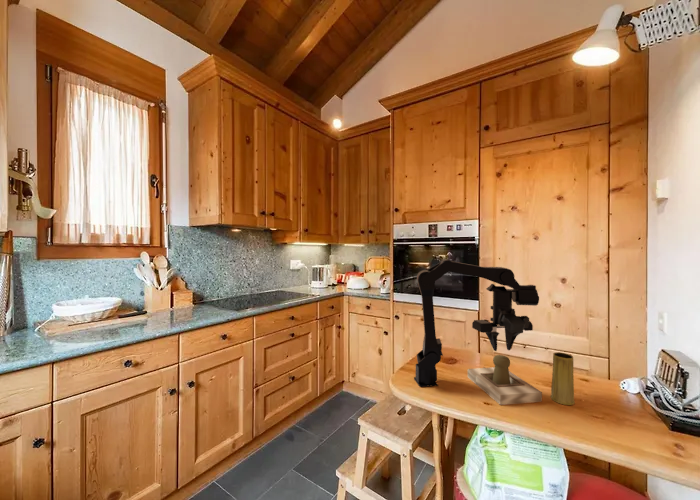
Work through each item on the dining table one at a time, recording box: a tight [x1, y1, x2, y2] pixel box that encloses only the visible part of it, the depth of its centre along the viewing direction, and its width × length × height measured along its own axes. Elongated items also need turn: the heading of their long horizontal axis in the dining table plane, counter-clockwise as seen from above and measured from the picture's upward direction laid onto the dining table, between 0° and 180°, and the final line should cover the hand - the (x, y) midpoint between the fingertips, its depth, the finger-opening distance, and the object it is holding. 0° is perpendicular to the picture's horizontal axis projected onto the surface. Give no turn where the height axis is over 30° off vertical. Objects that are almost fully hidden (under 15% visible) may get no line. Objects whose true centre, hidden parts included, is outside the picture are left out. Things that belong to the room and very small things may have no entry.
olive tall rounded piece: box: [492, 354, 511, 385], centre depth 100 cm, size 6×6×11 cm
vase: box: [550, 351, 576, 406], centre depth 93 cm, size 6×6×14 cm
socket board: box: [467, 366, 543, 406], centre depth 100 cm, size 14×19×3 cm
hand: (501, 350), depth 100 cm, fingers open, 5 cm apart
